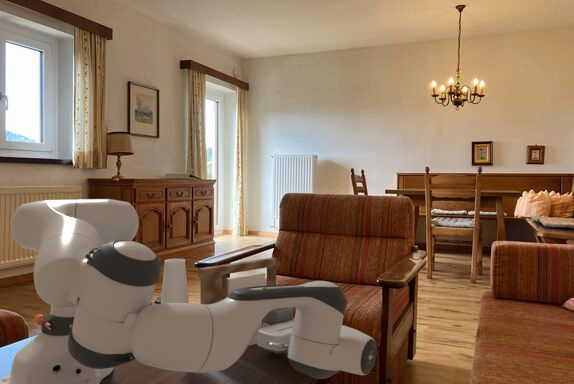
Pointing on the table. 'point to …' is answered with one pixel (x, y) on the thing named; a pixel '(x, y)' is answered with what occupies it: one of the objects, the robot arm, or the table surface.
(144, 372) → the table surface
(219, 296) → the door frame
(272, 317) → the doorstop
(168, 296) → the champagne flute
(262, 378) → the table surface
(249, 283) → the door
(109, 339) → the robot arm
